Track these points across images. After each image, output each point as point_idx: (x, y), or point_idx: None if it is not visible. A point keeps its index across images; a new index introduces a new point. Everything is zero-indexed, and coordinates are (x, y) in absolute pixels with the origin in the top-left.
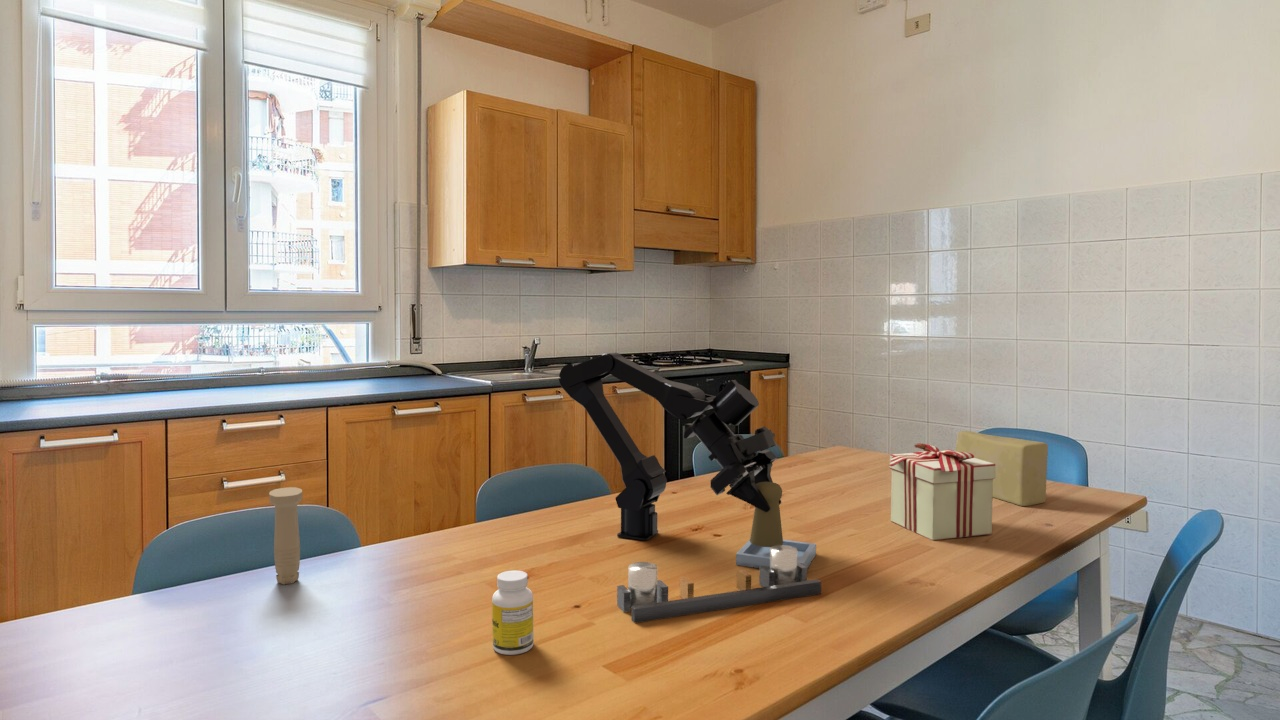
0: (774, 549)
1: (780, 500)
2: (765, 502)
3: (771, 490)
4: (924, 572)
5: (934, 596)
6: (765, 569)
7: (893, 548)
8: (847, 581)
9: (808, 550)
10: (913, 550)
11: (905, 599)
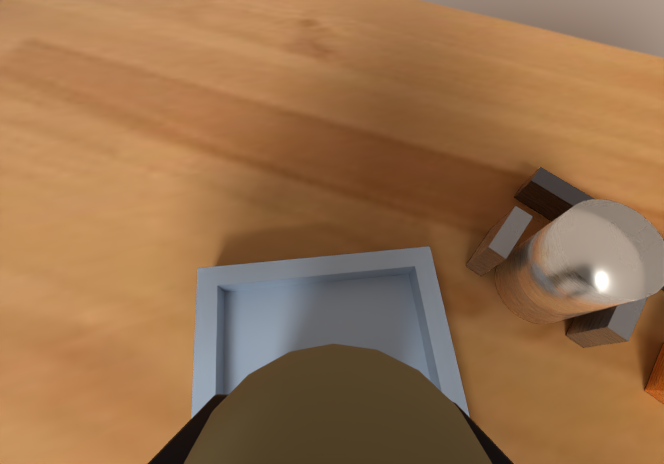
0: (647, 275)
1: (215, 402)
2: (493, 445)
3: (461, 420)
4: (239, 38)
5: (378, 14)
6: (636, 312)
7: (65, 110)
8: (396, 154)
9: (290, 270)
10: (69, 71)
11: (428, 48)
